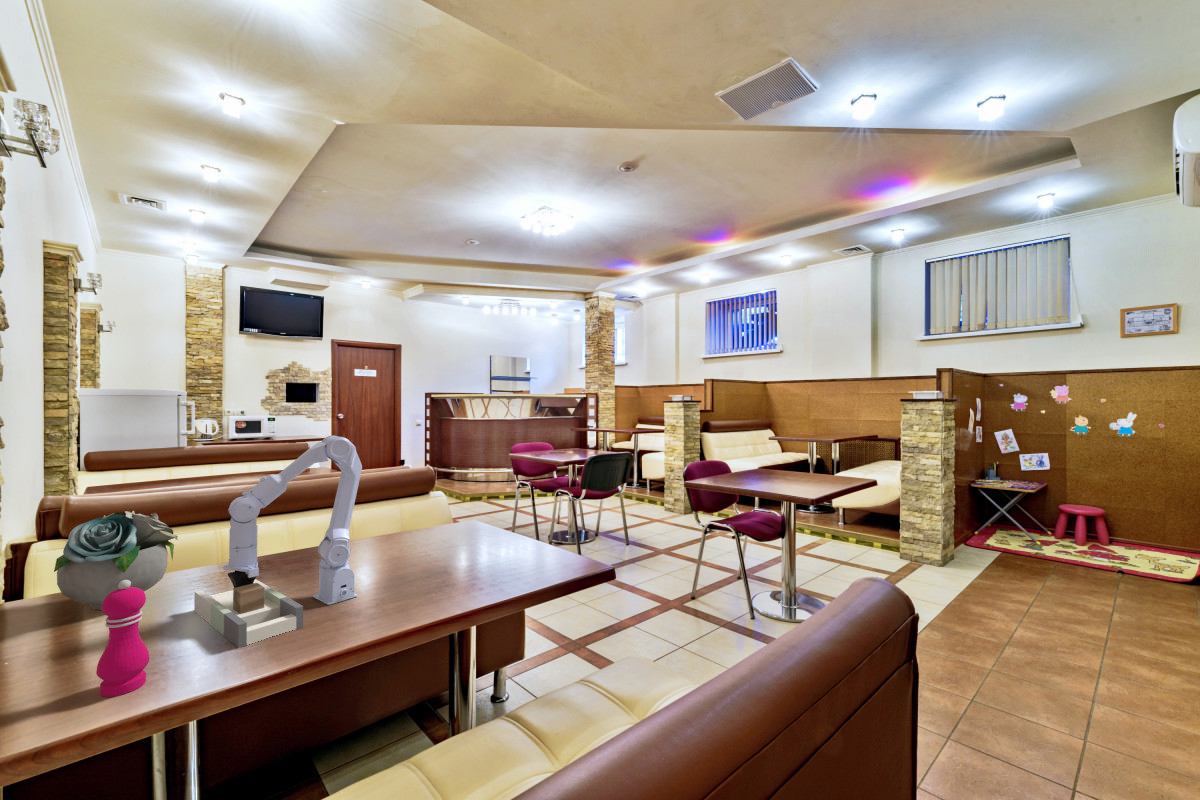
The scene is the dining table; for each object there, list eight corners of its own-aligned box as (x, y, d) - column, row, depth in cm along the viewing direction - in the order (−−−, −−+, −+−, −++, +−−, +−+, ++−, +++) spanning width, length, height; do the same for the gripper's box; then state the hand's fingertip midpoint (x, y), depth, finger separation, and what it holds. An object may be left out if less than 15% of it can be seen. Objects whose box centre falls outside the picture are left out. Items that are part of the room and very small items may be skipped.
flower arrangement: (199, 592, 142) (200, 505, 142) (88, 630, 118) (89, 525, 118) (136, 583, 148) (137, 500, 149) (19, 618, 124) (20, 519, 125)
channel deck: (303, 627, 119) (303, 606, 119) (238, 648, 109) (238, 624, 109) (253, 595, 139) (253, 577, 139) (194, 611, 129) (194, 591, 129)
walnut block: (264, 607, 123) (264, 587, 124) (240, 614, 120) (240, 593, 120) (256, 602, 127) (256, 582, 127) (233, 608, 123) (233, 588, 123)
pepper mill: (145, 673, 99) (146, 571, 99) (153, 686, 94) (154, 579, 95) (93, 689, 93) (94, 580, 94) (98, 703, 89) (100, 590, 89)
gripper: (214, 543, 127) (214, 597, 127) (234, 554, 118) (233, 612, 118) (247, 538, 133) (246, 589, 132) (268, 547, 124) (268, 603, 124)
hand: (242, 600), depth 126 cm, fingers closed
